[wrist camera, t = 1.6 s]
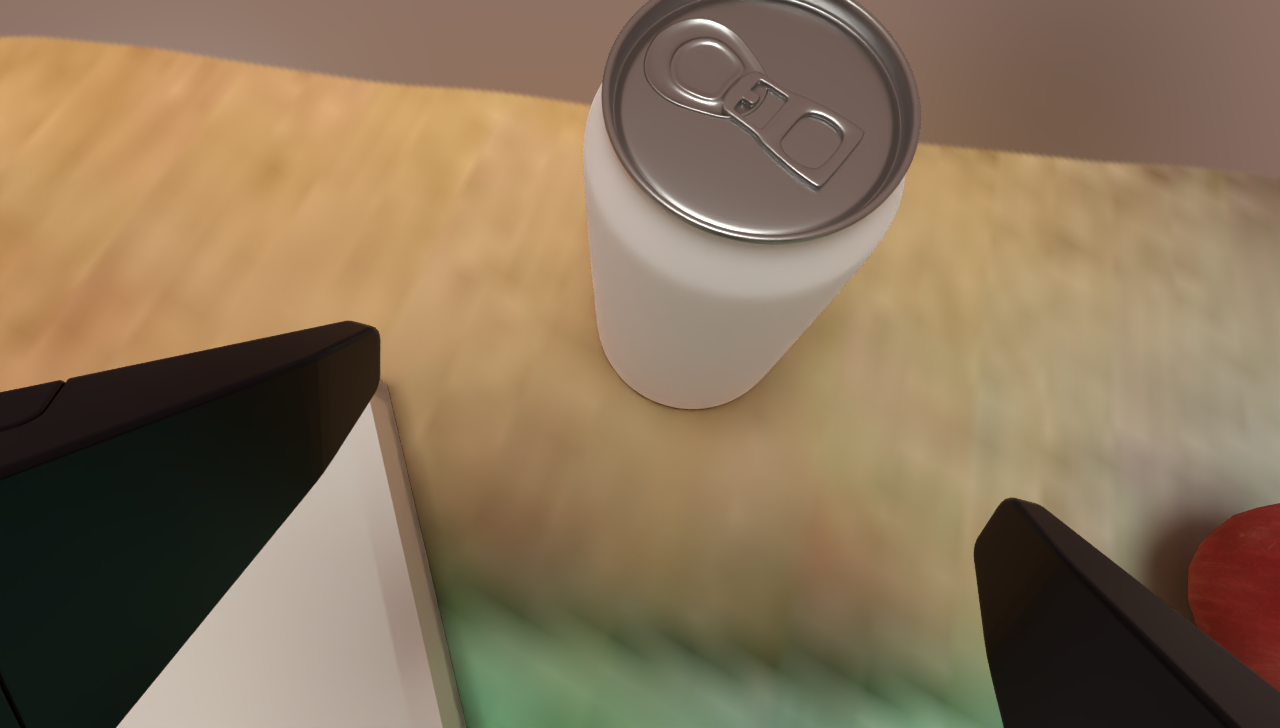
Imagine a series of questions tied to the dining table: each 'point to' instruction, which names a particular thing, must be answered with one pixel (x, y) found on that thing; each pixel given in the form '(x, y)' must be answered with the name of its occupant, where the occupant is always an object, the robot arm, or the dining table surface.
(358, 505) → the tray
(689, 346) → the can
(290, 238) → the dining table surface
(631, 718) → the dining table surface
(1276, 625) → the red rounded piece
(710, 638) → the dining table surface
